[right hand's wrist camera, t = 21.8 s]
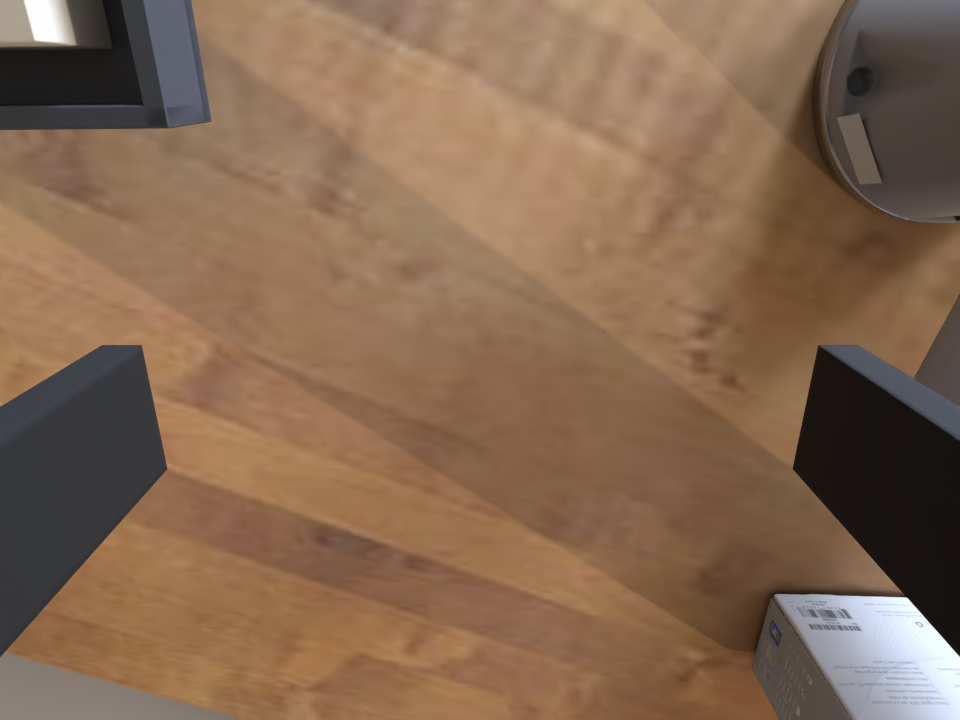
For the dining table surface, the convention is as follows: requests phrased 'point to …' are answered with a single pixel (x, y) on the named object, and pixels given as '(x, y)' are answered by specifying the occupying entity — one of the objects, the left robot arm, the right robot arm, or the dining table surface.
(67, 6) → the cream block
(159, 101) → the tray
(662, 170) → the dining table surface
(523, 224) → the dining table surface
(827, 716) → the hard drive box
